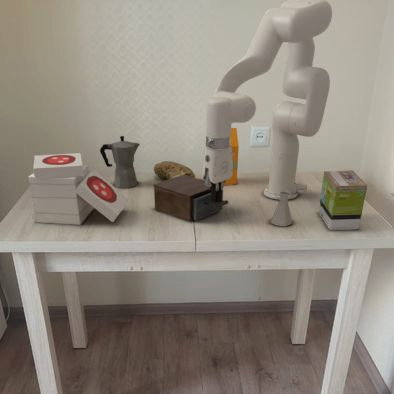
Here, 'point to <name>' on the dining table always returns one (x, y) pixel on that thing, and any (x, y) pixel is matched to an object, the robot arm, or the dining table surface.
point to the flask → (282, 211)
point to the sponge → (172, 170)
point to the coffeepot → (122, 162)
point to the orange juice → (234, 156)
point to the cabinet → (178, 195)
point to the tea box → (342, 200)
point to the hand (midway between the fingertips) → (216, 201)
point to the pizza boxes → (71, 190)
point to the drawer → (205, 205)
